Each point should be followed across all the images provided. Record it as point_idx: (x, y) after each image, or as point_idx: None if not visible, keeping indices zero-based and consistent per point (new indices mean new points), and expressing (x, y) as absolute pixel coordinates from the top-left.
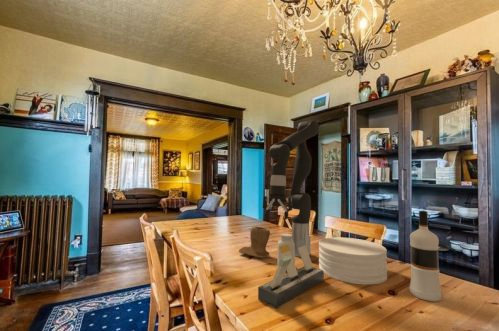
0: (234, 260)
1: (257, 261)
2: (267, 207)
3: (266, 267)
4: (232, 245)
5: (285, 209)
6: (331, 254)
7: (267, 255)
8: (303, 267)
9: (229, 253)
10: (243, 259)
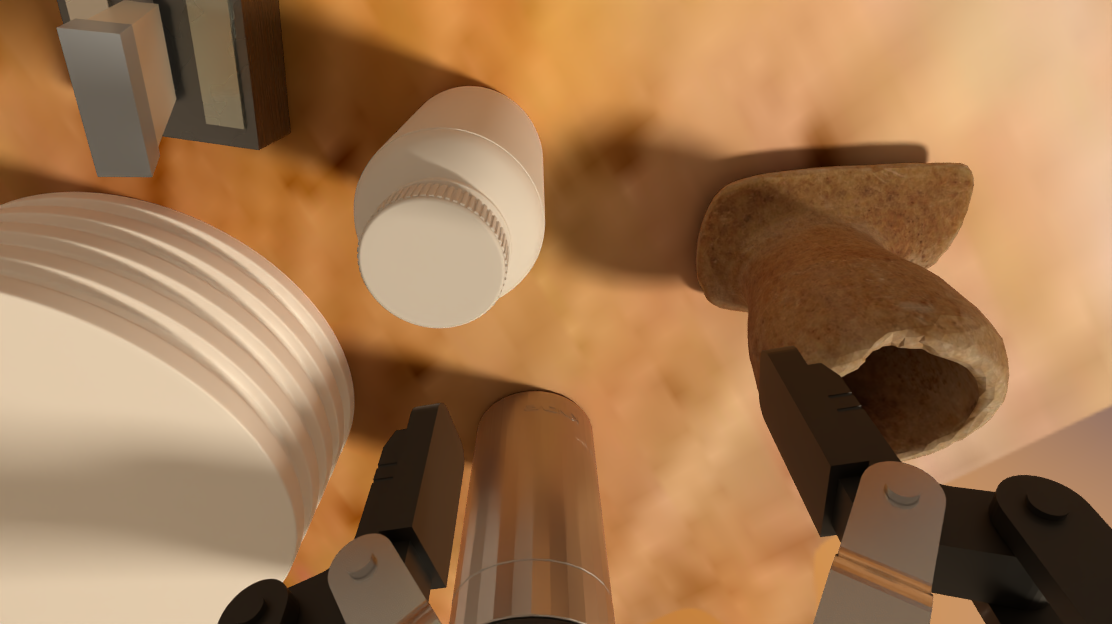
0: (931, 10)
1: (731, 130)
2: (918, 526)
3: (603, 59)
4: (1082, 314)
5: (366, 583)
6: (46, 285)
7: (698, 249)
8: (227, 68)
9: (1043, 136)
10: (862, 90)
